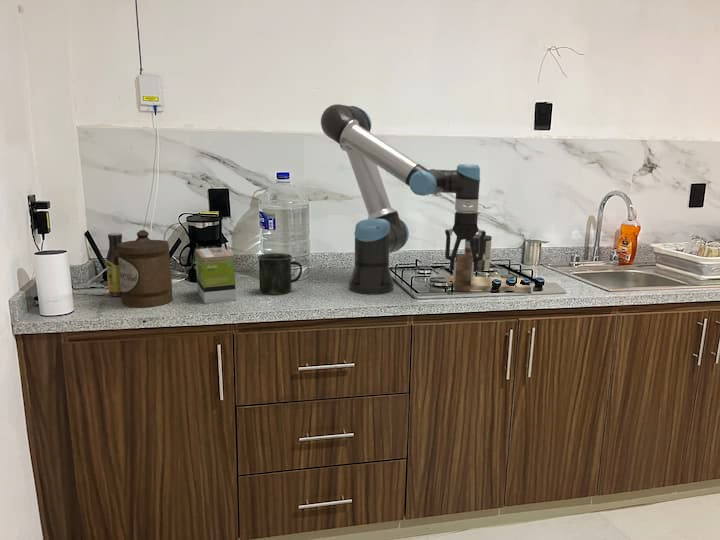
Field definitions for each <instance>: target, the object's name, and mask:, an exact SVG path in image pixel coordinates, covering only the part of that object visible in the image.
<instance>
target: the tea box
mask: <svg viewBox="0 0 720 540" xmlns="http://www.w3.org/2000/svg"><path fill="white" fill-rule="evenodd" d="M194 258H195V270H196V272H195V273H196V285H197V292H198V294H199V297H201V299H202V301H203V303H204V304H213V303H222V302H223V303H225V302H230V301H236V299H237V291H236V271H235V270H236V269H235V268H236V267H235V255H234V254H232V252H230V251H229V250H228V249H227V248H226V247H224V246H221V247H208V248H195V249H194Z"/></svg>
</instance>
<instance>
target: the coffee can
mask: <svg viewBox="0 0 720 540" xmlns="http://www.w3.org/2000/svg"><path fill="white" fill-rule="evenodd" d="M492 239H493V237H492V236H490V235H487V234H485V237H484V246H483V260H480V261H478V262H477V270H476V271H483V270H489V271H490V265H491V264H490V263H491V251H492V250H491V249H492ZM464 240H465V242H464V253H463V254H471V255H472V253H471V248H470V243H469V240H466V239H464ZM473 241H474V246H475V251H476V256H477V257H478V253H479V235H478V233H476V234H475V236H474V237H473ZM472 261H473V257H472ZM476 271H473V272H476Z"/></svg>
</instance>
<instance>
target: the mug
mask: <svg viewBox="0 0 720 540" xmlns="http://www.w3.org/2000/svg"><path fill="white" fill-rule="evenodd" d="M292 257H293V256H292V255H291V254H289V253H281V252H280V253H279V252H276V253H264V254H259V255H257V260H258V274H259V275H258V277H259V279H258V280H259V282H258V283H259V291H260V293H261V294H265V295H271V296H272V295H286V294H288V293H290V292H291V290H292V284H293V283H296V282H298V281H299V280H300V279H301V276H302V273H303V266H302V264H301V263H300V262H298V261H291V260H292ZM292 265H295V266H298V267H299V272H298V275H297V277H295V278H294V279H292Z"/></svg>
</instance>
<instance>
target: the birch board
mask: <svg viewBox="0 0 720 540" xmlns="http://www.w3.org/2000/svg"><path fill="white" fill-rule="evenodd" d="M507 278H508V277H497V276H494V277H493V276H491V277H490V276H489V277H488V276H473V281H471V290H482V291H490V290H491V288H492V287H493V286H492V281H493V280H494V279H498V280H501V281H502V284H501V286H500V291H502V292H501V293H506V292H505V291H515V292H530V293H529V294H532V287H531V285H530V284H529V285H522V284H520V282H521V280H525V279H524V277H516V278H517V283H516V284H515V285H514V286H509V285H507V284H506V279H507ZM445 279H446V281H447V285H448V286H451V283H450V281H452V282H453V288H454V290H455V282H454V281H453V275H444V280H445ZM503 291H504V292H503Z"/></svg>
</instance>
